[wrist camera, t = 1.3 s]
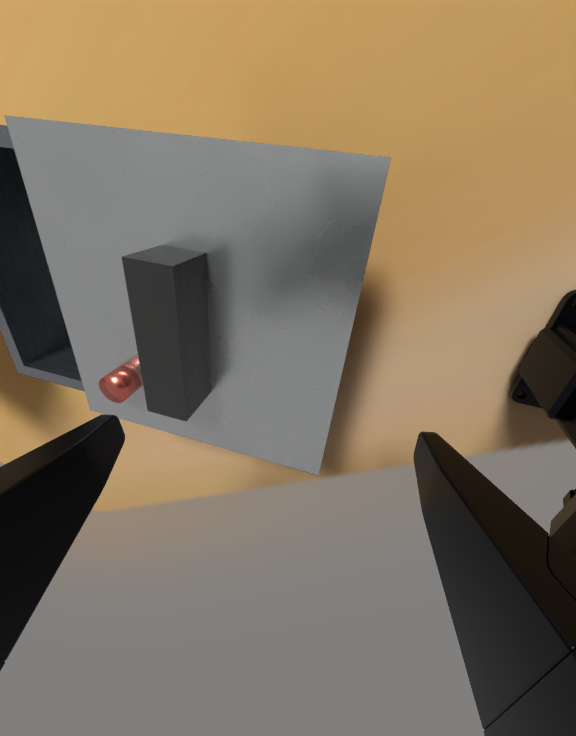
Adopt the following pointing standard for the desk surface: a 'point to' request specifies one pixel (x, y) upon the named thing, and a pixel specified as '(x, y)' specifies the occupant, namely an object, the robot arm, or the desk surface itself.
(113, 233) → the lid
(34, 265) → the grey open box
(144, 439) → the desk surface
